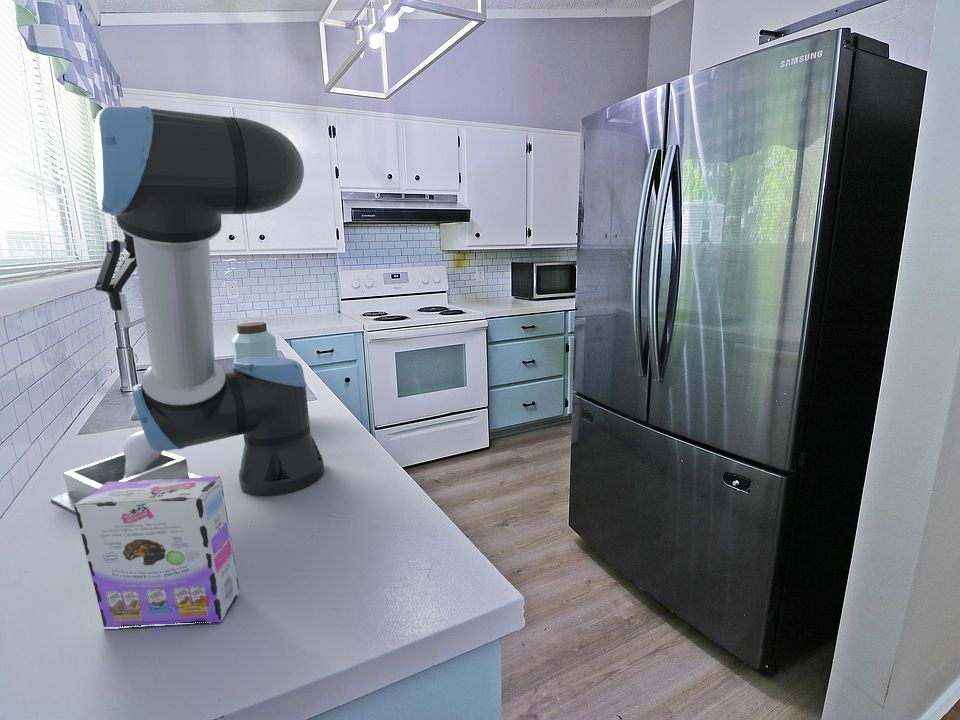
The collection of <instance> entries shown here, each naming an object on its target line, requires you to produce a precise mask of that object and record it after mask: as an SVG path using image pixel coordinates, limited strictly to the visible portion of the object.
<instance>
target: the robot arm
mask: <svg viewBox="0 0 960 720" xmlns="http://www.w3.org/2000/svg"><path fill="white" fill-rule="evenodd" d="M93 134H94V135H93V136H94V137H93V155H94V156H93V157H94V161H93V164H94V170H95V171H94V172H95V186H96V187H95V188H96V196H97V203H98V207H99V209H100V210H101V212H102V213H105V214H108V215H110V216H113V217H114V216H115V222H116V225H117V227H118V228H119V229H120V230H121V231H122V233H123V236H124V239H123V240H124V241H122V240H117V239H110V240H109V239H108V240H107V241H106V242H105V243H106V254H105V257H104V260H103V263H102V266H101V267H100V271H99V273H98V277H97V281H96V283H95V286H94V288H95V290H96V291H98V292H99V291H100V292H103V293H107V295H108V298H109V303H110V308H111V310H112V311H116V313H117V318H118V319H117V320H118V324H119V327H120V328H131V327H132V323H131V319H130V318H131V317H130V313H129V308H128V304H127V302H128V301H127V298H126V293H124V292H121V290H122V289H123V287H125V284H126V283H127V282H128V280H129V278H130V277H131V276H132V274H133V273H134V271H135V270H136V268H137V274H138V283H139V289H140V295H141V301H142V302H141V303H142V310H143V315H144V322H145V329H146V331H145V332H146V337H147V345H148V352H149V358H150V366H148V368H146V370H145V372H143V376H142V379H141V382H140V383H138V384H135V385H134V386H133V387H132V388H131V390H132V398H133V402H134V407H135V409H136V414H137V415H138V419H139V421H140V425H141V427H142V431H144V434H145V436H146V439H147V441H148V443H149V445H150V446H151V448H152V449H154V450H156V451H160V452H163V451H165V452H169V451H173V450H174V451H175V450H183V449H185V448H189V447H193V446H198V445H202V444H205V443H206V444H207V443H211V442H215V441H219V440H223V439H228V438H231V437H235V436H240V435H243V442H244V446H243V452H242V456H241V462H240V469H239V471H238V479H239V487H240V489H241V490H242V491H243V492H245V493H247V494H250V495H255V496H275V495H276V496H277V495H282V494H287V493H291V492H295V491H298V490H299V491H300V490H301V489H304V488H306V487H309V486H310V485H313V484H314V483H315V482H317V481H318V480H319V479H321V478H322V477H323V475H324V473H325V463H324V459H323V456H322V454H321V451H320V450H319V448H318V446H317V444H316V442H315V440H314V437H313V436H312V432H311V425H310V415H309V414H310V413H309V407H308V406H309V405H308V399H307V398H308V397H307V389H306V387H307V382H306V378H305V373H304V369H303V366H302V364H301V363H300V362H298V361H297V360H295V359H292V358H288V357H287V358H286V357H246V358H241V359H237V360H235V361H234V360H233V362H232V365H231V366H232V369H228V370H227V369H226V370H224V368H223V366H221V364H219V363H218V362H217V361H216V360H215V342H214V339H215V337H214V322H213V321H214V319H213V318H214V317H213V297H212V275H211V274H212V273H211V252H210V251H211V250H210V240H212V239H214V238H215V237H217V235H219V234H220V232H221V231H222V215H252V214H262V213H265V212H269V211H273V210H275V209H277V208H279V207H282V206H283V205H285V204H287V203H289V202H290V201H291V200H292V199H293V198H294V197H295V196H296V195H297V194H298V192H299V190H300V189H301V188H302V184H303V182H304V181H303V180H304V176H305V167H304V162H303V158H302V156H301V153H300V152H299V150H298V149H297V147H296V145H295V144H294V143H293V142H292V141H291V140H290V139H289V137H287V136H286V135H284V134H283V133H282V132H280V131H278V130H277V129H275V128H273V127H272V126H269V125H266V124H264V123H263V122H262V123H261V122H257V121H255V120H251V119H248V118H243V117H235V116H229V117H228V116H223V115H222V116H221V115H214V114H204V113H203V114H202V113H194V112H184V111H176V110H166V109H157V108H150V107H149V106H146V105H145V106H139V107H135V106H134V107H133V106H115V105H114V106H112V105H111V106H106V107H104V108H102V109H101V110H100V111H99V112H98V113H97V115H96V118H95V122H94V133H93ZM124 249H125V250H126V251H127V252H128V253H129V254H128V255H127V256H126V259H125V260H124V263H123V265H122V266H121V267H120V269H119V270H118V271H117V273H116V275H114V274H115V272H116V267H117V265H118V262H119V259H120V256H121V253H122V252H123V251H124ZM113 277H114V278H113Z"/></svg>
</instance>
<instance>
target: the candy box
mask: <svg viewBox="0 0 960 720" xmlns="http://www.w3.org/2000/svg"><path fill="white" fill-rule="evenodd" d="M224 494H225V493H224V488H223V482H222V477H221V475H215V476H200V477H196V478H178V479H159V480H141V481H119V482H107V483H105V484H104V485H102V486H101V487H99V488H98V489H96V490H95V491H93V492H92V493H90V494H89V495H88V496H86V497H85V498H83V499H82V500H80V501H79V502H77V503H76V504H75V505H74V508H75V512H76V514H75V515H76V518H77V522H78V527H79V532H80V535H81V538H82V542H83V547H84V551H85V556H86V560H87V564H88V567H89V572H90V576H91V579H92V580H91V581H92V584H93V586H94V591H95V596H96V600H97V604H98V609H99V610H100V615H101V620H102V625H103V626H104V627H120V626H121V627H122V626H123V627H124V626H135V625H136V626H137V625H138V626H141V625H150V624H151V625H152V624H153V625H154V624H175V623H176V624H177V623H195V622H196V623H197V622H198V623H199V622H200V623H201V622H202V623H203V622H204V623H205V622H206V623H207V622H208V624H215V623H214V622H217V623H216V624H219V623H218V622H221V623H222V621H223V620H224V618H225V617H226V615H227V614H228V612H229V610H230V609H231V607H232V606H233V605H234V603H235V601H236V600H237V598H238V596H239V595H240V593H241V591H240V585H239V580H238V573H237V567H236V562H235V561H236V560H235V555H234V549H233V543H232V536H231V530H230V524H229V519H228V513H227V512H228V511H227V507H226V506H227V505H226V500H225V499H226V498H225V495H224ZM209 622H211V623H209ZM212 622H213V623H212ZM104 627H103V628H104Z"/></svg>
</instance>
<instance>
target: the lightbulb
mask: <svg viewBox="0 0 960 720" xmlns="http://www.w3.org/2000/svg"><path fill="white" fill-rule="evenodd" d="M122 451H123V452H122V453H124V456H125V460H126V463H125V472H124V475H123V479H126V478H129V477H131V476H134V475H137V474H140V473H142V472H145V470H146V469H147V467H148V466H149V465H150V464H151V463H153V462H154V461H155V460H157V459H158V458H159V457H160V455H161V454H162V452H160V451H156V450H154V449H152V448H151V446H150V445H149V443H148V441H147V439H146V436H145V434H144V431H143V430H139V431H138V430H137V431H136V432H133V433H132V434H131V435H129V436H128V437H127V438H126V440H125V441H124V443H123V447H122ZM123 479H122V480H123Z"/></svg>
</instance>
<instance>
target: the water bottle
mask: <svg viewBox="0 0 960 720" xmlns="http://www.w3.org/2000/svg"><path fill="white" fill-rule="evenodd" d="M236 330H237V331H236V332H237V333H236V334H235V336H234V337H233V338H232V339H231V347H232V353H233V359H234V360H233V362H234V361H235V360H237V359H241V358H246V357H278V356H279V355H278V348H277V341H276V337H275V336H274V335H272V334H271V333H270V332H269V331H268V329H267V323H266V322H265V321H255V322H254V321H252V322H243V323H240V324H239V323H238V324H237V325H236Z"/></svg>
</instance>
